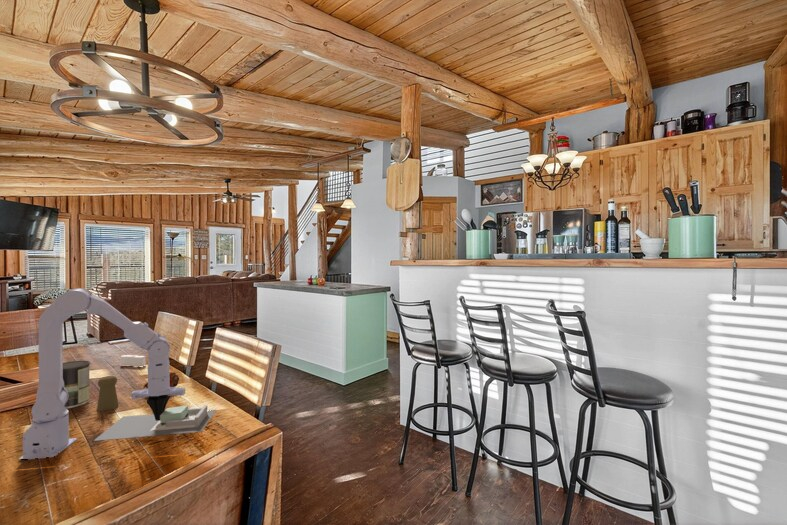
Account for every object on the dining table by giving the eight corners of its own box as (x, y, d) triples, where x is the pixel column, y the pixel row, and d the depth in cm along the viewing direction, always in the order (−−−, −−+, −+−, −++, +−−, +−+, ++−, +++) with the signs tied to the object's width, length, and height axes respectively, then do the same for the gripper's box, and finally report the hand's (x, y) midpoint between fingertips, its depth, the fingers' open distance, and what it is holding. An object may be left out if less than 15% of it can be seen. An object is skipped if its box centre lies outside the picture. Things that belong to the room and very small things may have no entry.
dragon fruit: (182, 392, 145) (146, 404, 138) (177, 376, 150) (142, 386, 143) (181, 379, 140) (144, 391, 133) (176, 363, 145) (140, 373, 138)
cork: (106, 412, 123) (106, 380, 123) (92, 411, 124) (91, 379, 124) (123, 405, 129) (122, 374, 129) (109, 404, 130) (108, 373, 130)
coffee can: (59, 412, 123) (59, 370, 123) (46, 406, 128) (45, 366, 128) (95, 401, 132) (95, 362, 132) (82, 396, 137) (81, 359, 137)
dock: (201, 434, 109) (201, 421, 109) (93, 443, 104) (93, 430, 104) (216, 412, 125) (216, 400, 125) (123, 419, 119) (123, 407, 119)
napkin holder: (114, 367, 174) (113, 355, 174) (141, 362, 183) (141, 350, 183) (123, 373, 165) (123, 361, 165) (152, 367, 173) (152, 356, 173)
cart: (183, 422, 113) (182, 412, 113) (159, 426, 112) (158, 415, 112) (189, 415, 118) (188, 405, 118) (167, 418, 117) (166, 408, 117)
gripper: (188, 370, 119) (188, 411, 120) (139, 373, 116) (139, 415, 117) (180, 377, 112) (180, 421, 113) (127, 381, 109) (128, 425, 110)
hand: (159, 419), depth 114 cm, fingers closed
